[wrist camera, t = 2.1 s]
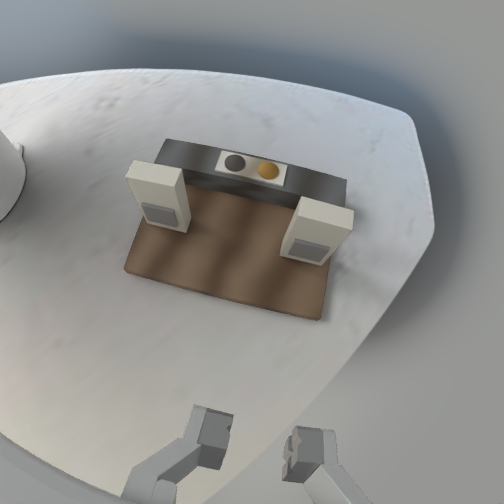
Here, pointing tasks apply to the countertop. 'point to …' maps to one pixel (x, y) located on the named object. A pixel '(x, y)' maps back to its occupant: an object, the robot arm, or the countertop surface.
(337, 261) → the countertop surface
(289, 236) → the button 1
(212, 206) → the console
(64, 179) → the countertop surface
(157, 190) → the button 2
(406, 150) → the countertop surface
